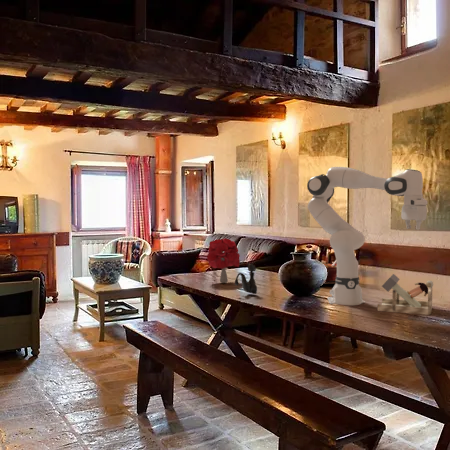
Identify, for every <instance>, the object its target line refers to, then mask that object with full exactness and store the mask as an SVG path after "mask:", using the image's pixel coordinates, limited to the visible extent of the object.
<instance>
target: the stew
mask: <svg viewBox="0 0 450 450" xmlns="http://www.w3.org/2000/svg"><path fill="white" fill-rule="evenodd" d="M323 264H324V265H325V266H326V268H327V272H328V276H327V280H326V282H325V283H324V284H336V283H335V282H336V276H337V262H336V259H335V260H334V262H333V263H332V264H331V263H323Z"/></svg>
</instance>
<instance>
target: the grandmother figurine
mask: <svg viewBox="0 0 450 450" xmlns="http://www.w3.org/2000/svg"><path fill="white" fill-rule="evenodd" d="M414 285H415V286H416V287H414V288H411V289H410V290H409V291H408V290H406V292H407V293H408V294H409V295H410V297H411V298H412V299H413V298H416V297H418V296H419V295H421V294H423V293H424V294H423V296H424V297H426V296H428V290H429V287H432V288H433V287H434V281H433V280H427V281H426V283H425V282H417V283H416V282H415V283H414Z"/></svg>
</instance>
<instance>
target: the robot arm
mask: <svg viewBox="0 0 450 450" xmlns="http://www.w3.org/2000/svg"><path fill="white" fill-rule="evenodd" d="M423 182H424V178H423V174H422V172H421V171H420V170H417V169H413V168H411V169H409V168H408V169H405V170H404V171H403V172H401V173H399V174H397V175H394V176H391V177H388V178H386V177H380V176H375V175H371V174H368V173H366V172H364V171H362V170H359V169H356V168H352V167H347V166H331V167H330V168H328V170H327V172H326V174H325V173H322V174H319V175H315V176H313V177H311V178H309V180H308V181H307V183H306V185H307V190H308V193H310V194H311V195H312V198H311V199H310V200H309V202H308V203H307V210H308V211H309V213H310V215H311V216H312V217H313V219H314V220H315V222H317V224H319V226H320V227H321V228H322V229H323V230H324V232H326V233H328V234H329V235H331V236H330V237H329V245H330V247H331V249H332V250H333V252H334V256H335V260H336V264H337V276H336V282H335V283H334V285H333V287H332V288H331V289H329V295H331V296H328V297H327V301H328V302H329V304H330V305H342V306H358V305H361V304H365V303H366V301H365V300H363V289H362V287H361V286H360V277H359V261H358V260H357V258H356V254H355V251H356V250H358V249H360V248H361V247H362V246H364V244H365V241H366V240H365V238H366V237H365V235H364V234H363V232H361V231H360V230H358V229H356V227H354V226H352V224H350V223H349V222H347V221H346V220H344V219H343V217H342V216H340V215H339V214H338V213H337V212H336V211H335V209H334V208H333V207H332V206H331V205H330V204H329V202H330V200H331V199H332V198H333V196H334V195H335V188H344V189H350V190H356V189H357V190H358V189H360V190H361V189H377V190H382V191H385V192H386V194H388V195H391V196H397V197H403V205H402V206H401V212H400V213H401V217H400V218H401V220H403V221H404V222H405V226H406V229H407V230H409V229H410V230H411V229H412V225H411V221H415V222H416V224H415V227H414V228H415V230H421V225H422V223H423V222H422V221H426V220H427V217H428V215H427V212H428V207H427V206H428V200H427V199H425V198H423V197H424V194H423V188H424V183H423Z"/></svg>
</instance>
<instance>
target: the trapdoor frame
mask: <svg viewBox="0 0 450 450" xmlns="http://www.w3.org/2000/svg"><path fill="white" fill-rule="evenodd" d="M417 301H418V302H419V303H420V304H421V307H412V306H411V305H410V304H409V303H408V302H407V301H406V300H404V299H400V295H399V294H398V293H396V290H393V289H392V298H381V304H377V312H378V311H379V312H387V313H402V314H414V315H423V316H425V315H426V316H427V315H428V316H431V314H432V311H433V287H428V294H427V300H425V301H423V300H417Z"/></svg>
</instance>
